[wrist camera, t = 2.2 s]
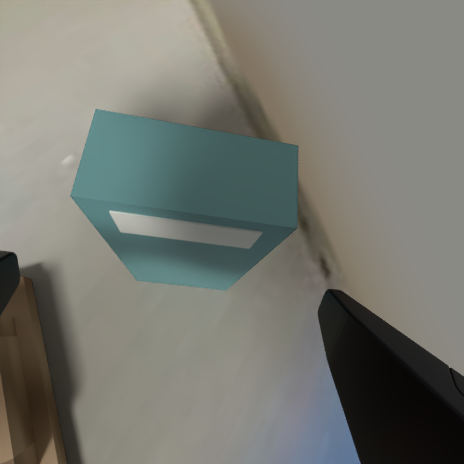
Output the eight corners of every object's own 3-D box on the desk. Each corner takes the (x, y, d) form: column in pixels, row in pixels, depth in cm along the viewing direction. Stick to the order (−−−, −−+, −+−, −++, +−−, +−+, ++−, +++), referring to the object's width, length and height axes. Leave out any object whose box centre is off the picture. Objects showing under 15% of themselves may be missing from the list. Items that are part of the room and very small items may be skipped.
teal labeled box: (226, 291, 19) (297, 230, 8) (136, 281, 18) (69, 197, 7) (229, 251, 20) (298, 144, 8) (144, 240, 19) (96, 107, 8)
